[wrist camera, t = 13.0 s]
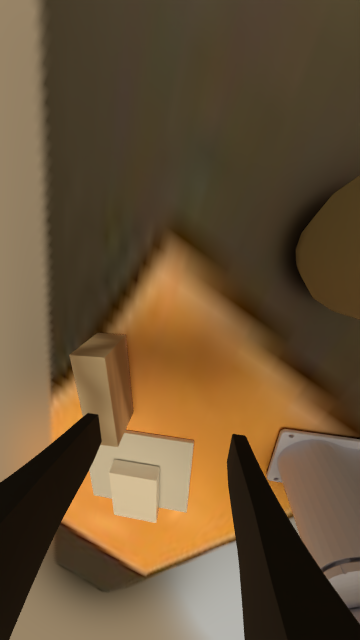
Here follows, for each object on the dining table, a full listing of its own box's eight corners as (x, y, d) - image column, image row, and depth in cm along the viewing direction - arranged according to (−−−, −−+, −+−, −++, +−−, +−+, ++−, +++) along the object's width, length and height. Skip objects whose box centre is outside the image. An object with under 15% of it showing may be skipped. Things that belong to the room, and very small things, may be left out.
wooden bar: (126, 333, 19) (104, 357, 15) (133, 410, 23) (118, 447, 19) (98, 332, 20) (69, 355, 16) (109, 408, 23) (88, 443, 19)
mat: (194, 440, 23) (193, 443, 23) (186, 509, 28) (186, 512, 28) (83, 423, 25) (81, 426, 24) (95, 491, 30) (93, 495, 29)
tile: (156, 481, 23) (156, 522, 26) (159, 465, 25) (159, 507, 28) (108, 472, 24) (114, 514, 27) (115, 458, 26) (119, 499, 29)
